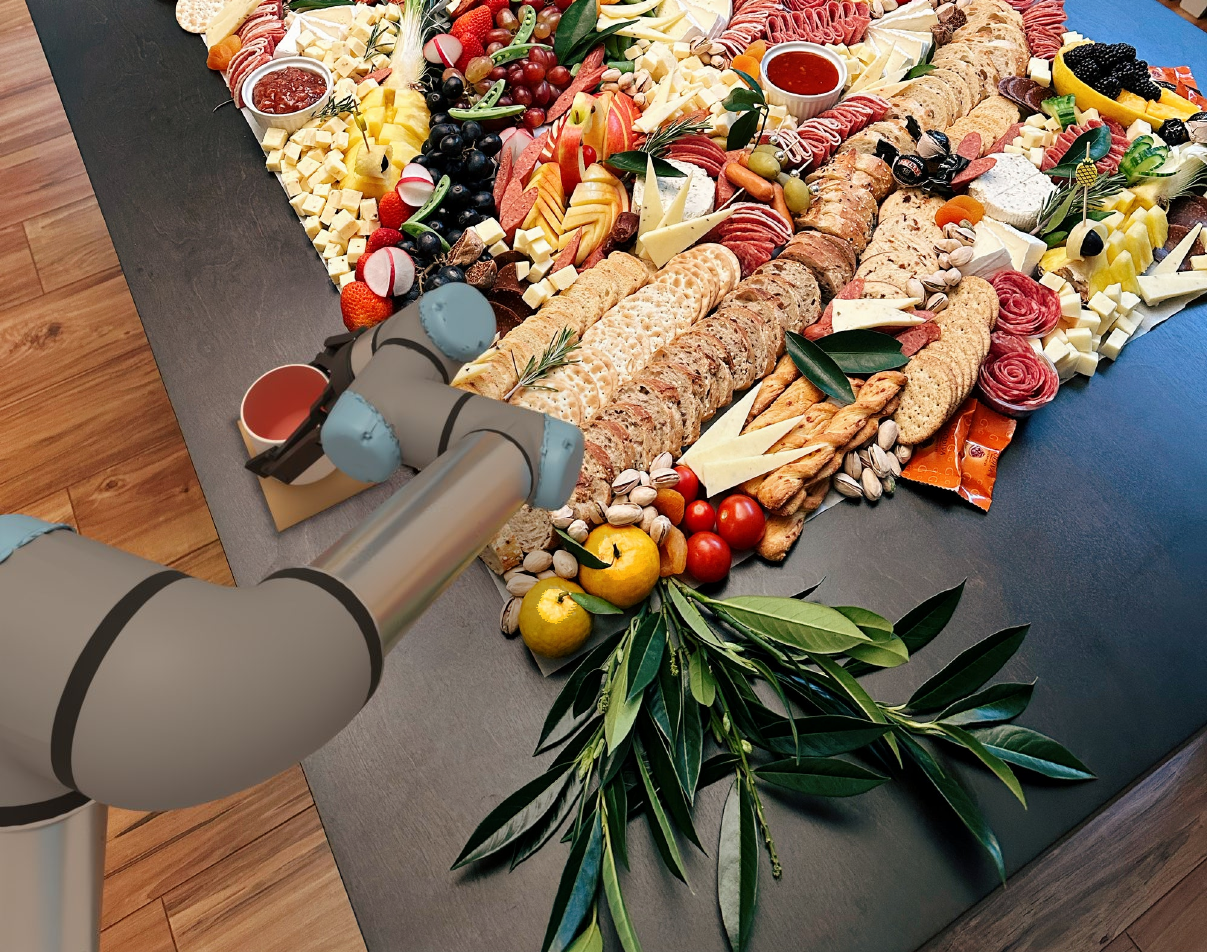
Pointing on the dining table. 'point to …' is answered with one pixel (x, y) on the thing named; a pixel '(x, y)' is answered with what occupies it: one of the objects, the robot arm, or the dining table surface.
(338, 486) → the cork mat
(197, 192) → the dining table surface
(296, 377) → the cup
